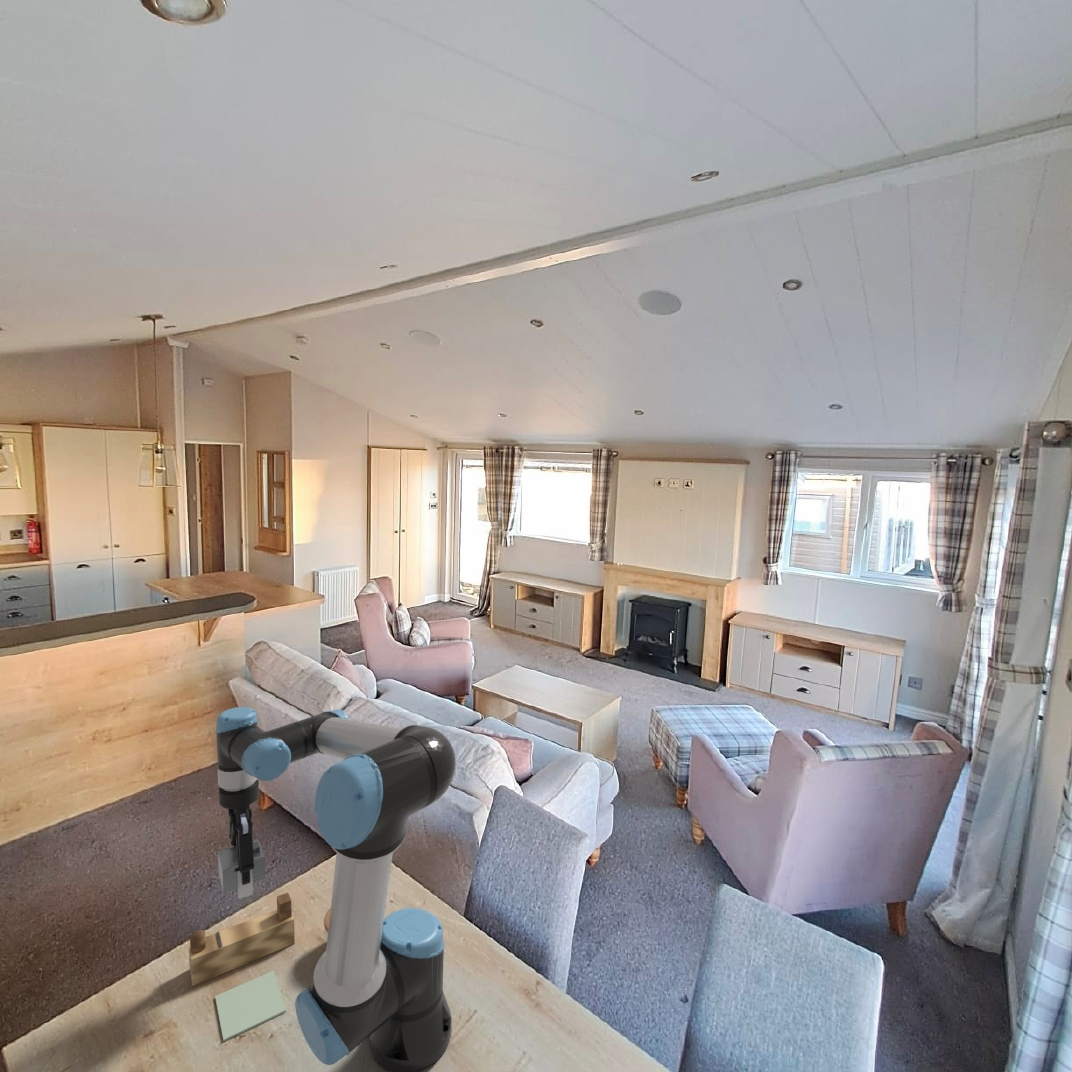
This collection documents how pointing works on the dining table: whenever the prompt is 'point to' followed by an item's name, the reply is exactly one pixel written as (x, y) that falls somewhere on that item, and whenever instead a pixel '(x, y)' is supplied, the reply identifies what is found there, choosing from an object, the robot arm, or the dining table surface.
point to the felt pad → (249, 1005)
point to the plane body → (241, 942)
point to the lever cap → (230, 862)
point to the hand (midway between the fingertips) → (242, 884)
